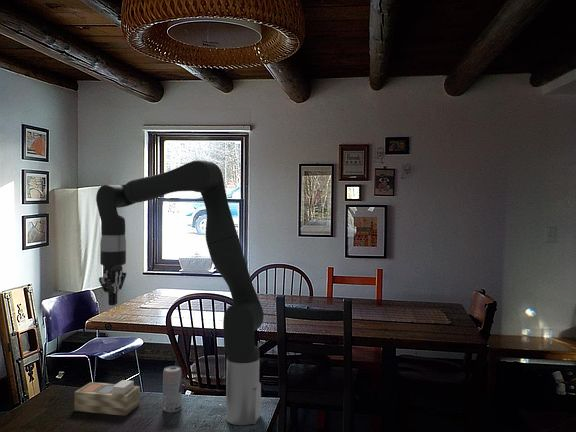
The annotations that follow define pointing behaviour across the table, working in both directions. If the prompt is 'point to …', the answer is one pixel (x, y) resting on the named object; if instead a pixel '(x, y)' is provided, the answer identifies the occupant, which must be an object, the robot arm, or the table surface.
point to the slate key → (106, 389)
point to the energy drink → (172, 389)
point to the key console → (106, 401)
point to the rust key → (92, 388)
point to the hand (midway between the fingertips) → (112, 304)
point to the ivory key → (123, 387)
